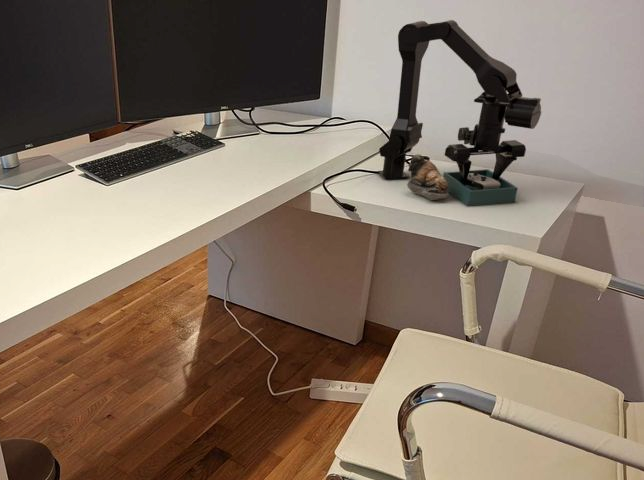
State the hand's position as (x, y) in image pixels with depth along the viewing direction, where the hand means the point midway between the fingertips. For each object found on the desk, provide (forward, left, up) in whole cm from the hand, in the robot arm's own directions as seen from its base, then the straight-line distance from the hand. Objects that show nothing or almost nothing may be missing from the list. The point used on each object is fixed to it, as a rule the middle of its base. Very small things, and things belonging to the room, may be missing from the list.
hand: (478, 183), depth 173 cm
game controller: (0, 0, -1) cm, 1 cm away
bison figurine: (-1, -14, -3) cm, 14 cm away
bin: (0, 0, -3) cm, 3 cm away
